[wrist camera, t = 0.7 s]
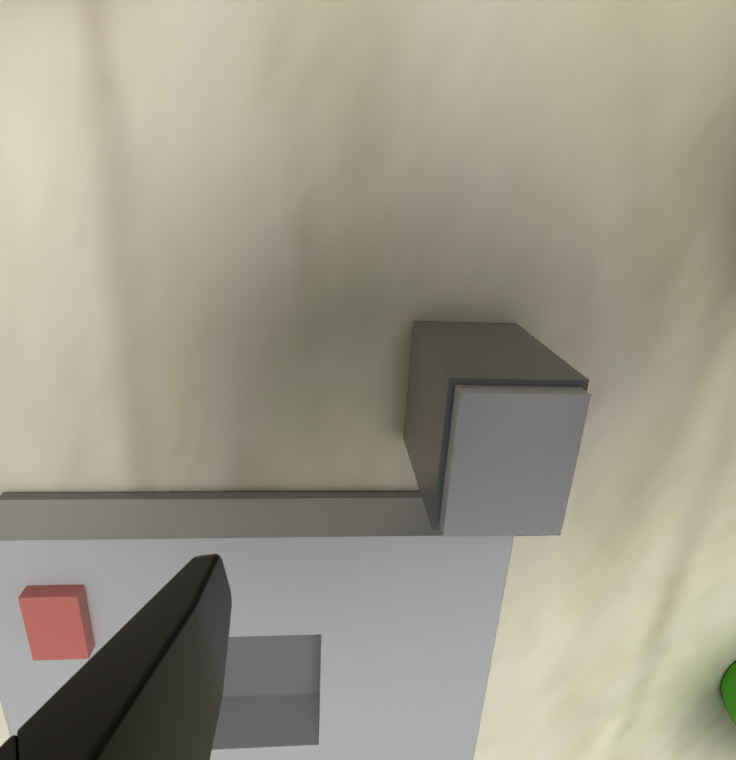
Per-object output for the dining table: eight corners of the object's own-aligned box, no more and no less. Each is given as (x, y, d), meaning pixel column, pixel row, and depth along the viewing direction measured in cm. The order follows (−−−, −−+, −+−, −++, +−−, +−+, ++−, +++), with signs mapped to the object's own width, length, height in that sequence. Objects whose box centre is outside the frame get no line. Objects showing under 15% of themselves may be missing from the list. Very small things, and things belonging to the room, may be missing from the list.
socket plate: (490, 491, 23) (519, 544, 20) (451, 742, 29) (468, 817, 26) (3, 492, 21) (-57, 552, 18) (66, 761, 27) (29, 844, 24)
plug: (516, 323, 20) (599, 388, 14) (497, 438, 22) (565, 540, 16) (413, 320, 20) (454, 386, 14) (403, 438, 22) (435, 542, 16)
